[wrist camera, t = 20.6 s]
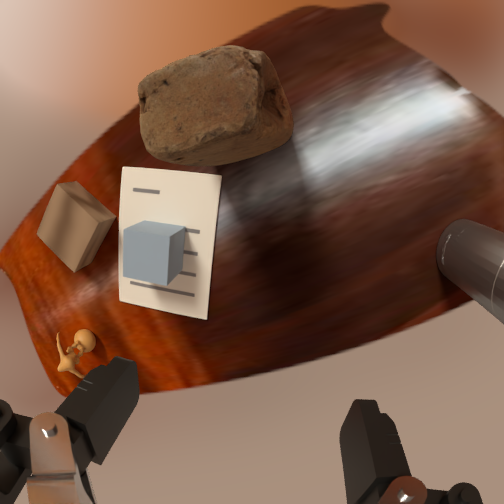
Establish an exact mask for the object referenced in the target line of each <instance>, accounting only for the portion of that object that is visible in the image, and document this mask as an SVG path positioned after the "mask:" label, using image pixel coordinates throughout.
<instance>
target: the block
mask: <svg viewBox="0 0 504 504" xmlns="http://www.w3.org/2000/svg"><path fill="white" fill-rule="evenodd" d="M138 95H139V104H140V129H141V135H142V138H143V141H144V144H145V147H146V150H147V151H148V152H149V153H150V154H151V155H153V156H154V157H155V158H157V159H160V160H163V161H166V162H170V163H177V164H181V165H189V166H216V165H223V164H228V163H233V162H237V161H241V160H244V159H247V158H251V157H255V156H258V155H260V154H263V153H265V152H268V151H271V150H273V149H275V148H278V147H280V146H281V145H283V144H284V143H286V142H287V141H288V140H289V138H290V137H291V135H292V132H293V127H294V123H293V116H292V112H291V109H290V107H289V104H288V101H287V98H286V96H285V93H284V91H283V88H282V87H281V84H280V81H279V78H278V76H277V73H276V70H275V68H274V67H273V65H272V63H271V61H270V58H269V57H267V56H266V54H265V53H264V52H262V51H252V50H247V49H245V48H244V47H239V46H234V45H230V46H222V47H216V48H213V49H210V50H207V51H204V52H201V53H199V54H197V55H190V56H189V57H186V58H184V59H181V60H178V61H175V62H172V63H170V64H168V65H167V66H165V67H163V68H162V69H160V70H157V71H155V72H153V73H151V74H149V75H147V76H146V77H145V78H144V79H143V80H142V81H141V82H140V83H139V85H138Z"/></svg>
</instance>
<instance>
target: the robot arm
mask: <svg viewBox="0 0 504 504" xmlns="http://www.w3.org/2000/svg"><path fill="white" fill-rule="evenodd" d="M436 259H437V264H438V267H439V269H440V271H441V272H442V274H443V275H444V276H445V277H446V278H448V279H449V280H450V281H452V282H453V283H454V284H456V285H457V286H458V287H459V288H460V289H462V290H463V291H464V292H465V293H467V294H468V295H469V296H470V297H472V298H473V299H474V300H475V301H477V302H478V303H479V304H480V305H481V306H483V307H484V308H485V309H486V310H487V311H489V312H490V313H491V314H492V315H493V316H495V317H496V318H497V319H498V320H499V321H501V322H502V323H503V324H504V233H503V232H500V231H498V230H495V229H492V228H490V227H487V226H485V225H482V224H479V223H477V222H474V221H471V220H468V219H460V220H456V221H455V222H453V223H451V224H450V225H449V226H448V227H447V228H446V229H445V230H444V232H443V233H442V235H441V237H440V239H439V242H438V246H437V252H436ZM138 399H139V383H138V374H137V365H136V362H135V361H132V360H128V359H125V358H122V357H118V356H116V357H114V358H113V359H112V361H111V362H110V363H109V364H108V365H107V366H104V365H100V366H98V367H96V368H94V369H93V370H91V371H90V372H89V373H88V374H87V375H86V376H85V377H84V379H83V381H81V382H80V383H79V384H78V385H77V387H76V388H75V389H74V390H73V391H72V392H71V394H70V395H69V396H68V397H67V398H66V399H65V401H64V402H63V403H62V404H61V405H60V406H59V408H58V409H57V410H56V411H55V412H54V413H53V412H44V413H41V414H38V415H37V416H35V417H34V418H31V417H27V416H22V415H18V414H15V413H13V411H12V409H11V407H10V405H9V404H8V403H7V402H5V401H4V400H0V504H14V502H15V500H16V498H17V497H18V495H19V493H20V492H21V490H22V488H23V487H24V485H25V483H26V482H27V491H28V498H29V504H97V501H96V497H95V494H94V491H93V487H92V484H91V480H90V476H89V473H88V469H87V467H88V465H89V463H90V462H91V461H93V462H95V463H97V464H99V465H101V464H102V462H103V461H104V459H105V457H106V456H107V454H108V452H109V451H110V449H111V447H112V445H113V444H114V442H115V440H116V439H117V437H118V435H119V433H120V432H121V430H122V428H123V427H124V425H125V423H126V422H127V420H128V418H129V417H130V415H131V413H132V412H133V410H134V408H135V407H136V405H137V402H138ZM400 443H401V441H400V438H399V436H398V432H397V429H396V426H395V424H394V422H393V421H392V419H391V418H390V417H389V416H388V415H387V414H386V413H380V411H379V408H378V404H377V402H376V401H375V400H362V399H361V400H360V399H356V400H355V401H354V402H353V403H352V406H351V408H350V410H349V412H348V414H347V416H346V419H345V421H344V423H343V425H342V427H341V431H340V448H341V455H342V462H343V471H344V479H345V486H346V496H347V504H483V503H482V499H481V497H480V493H479V491H478V490H477V488H476V487H475V486H473V485H472V484H469V483H458V484H456V485H454V486H453V487H452V488H451V489H450V490H449V491H442V490H433V489H427V488H426V487H425V485H424V484H423V482H422V481H420V480H419V479H417V478H415V477H412V475H411V473H410V469H409V466H408V463H407V460H406V457H405V453H404V450H403V447H402V444H400ZM31 474H32V476H30V475H31Z"/></svg>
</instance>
